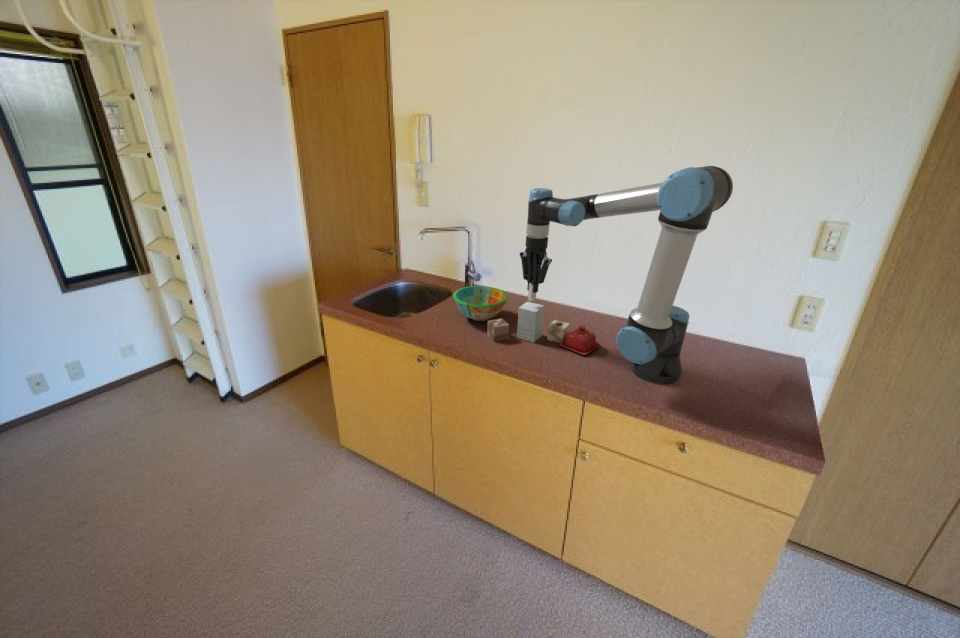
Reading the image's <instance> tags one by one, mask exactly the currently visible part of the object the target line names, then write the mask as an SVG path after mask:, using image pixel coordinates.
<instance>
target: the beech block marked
mask: <svg viewBox="0 0 960 638" xmlns="http://www.w3.org/2000/svg"><path fill="white" fill-rule="evenodd" d="M547 326H548V327H547V336H546V340H547V341H550V342H555V343H557V344H560V343H561V342H562V341H564V340H566V336H567V334H568V333H569V332H570V323H569V322H565V321H561V320H557V319H554V320H552V321H551V322H550V323H549V325H547Z"/></svg>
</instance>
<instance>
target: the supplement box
mask: <svg viewBox="0 0 960 638" xmlns="http://www.w3.org/2000/svg"><path fill="white" fill-rule="evenodd" d="M517 311H518V316H517V317H518V318H517V332H516V333H517V336H516V338H517V339H520V340H523V341H526V342H530V343H533V344H534V343H535V342H536V341H537V340H539V339H540V338H541V337H542V336H543V327H544V326H543V325H544V314H545V305H543V304H539V303H534V302H532V301H525V303H523V304H522V305H521V306H519V307H518V310H517Z"/></svg>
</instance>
